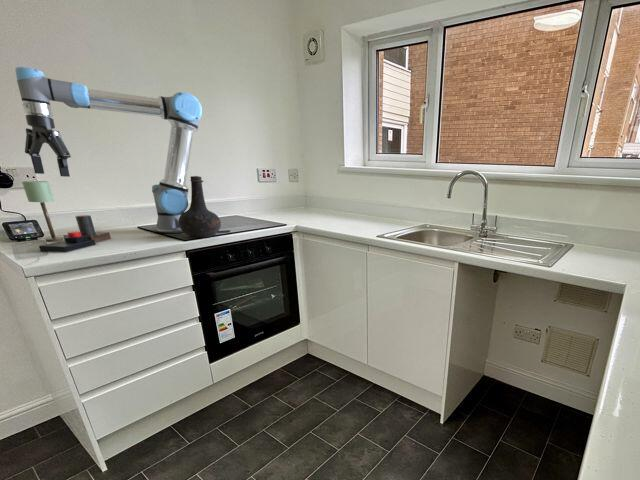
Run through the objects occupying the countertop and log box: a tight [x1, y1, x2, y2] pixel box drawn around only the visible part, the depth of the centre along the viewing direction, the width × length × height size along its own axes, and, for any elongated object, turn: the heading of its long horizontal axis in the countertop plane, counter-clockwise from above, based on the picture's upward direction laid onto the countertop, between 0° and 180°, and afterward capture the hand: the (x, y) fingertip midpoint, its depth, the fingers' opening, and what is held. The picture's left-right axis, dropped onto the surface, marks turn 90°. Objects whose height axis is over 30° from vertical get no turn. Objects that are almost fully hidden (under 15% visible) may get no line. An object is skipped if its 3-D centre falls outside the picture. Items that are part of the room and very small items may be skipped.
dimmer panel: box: [63, 231, 112, 244], centre depth 155 cm, size 13×11×3 cm
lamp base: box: [38, 235, 97, 253], centre depth 142 cm, size 10×14×4 cm
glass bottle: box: [179, 175, 222, 239], centre depth 167 cm, size 18×18×28 cm
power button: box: [67, 230, 81, 237], centre depth 145 cm, size 4×4×2 cm
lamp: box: [21, 180, 64, 243], centre depth 133 cm, size 7×7×22 cm
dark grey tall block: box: [75, 214, 96, 236], centre depth 152 cm, size 5×5×8 cm
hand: (52, 175), depth 139 cm, fingers open, 13 cm apart
